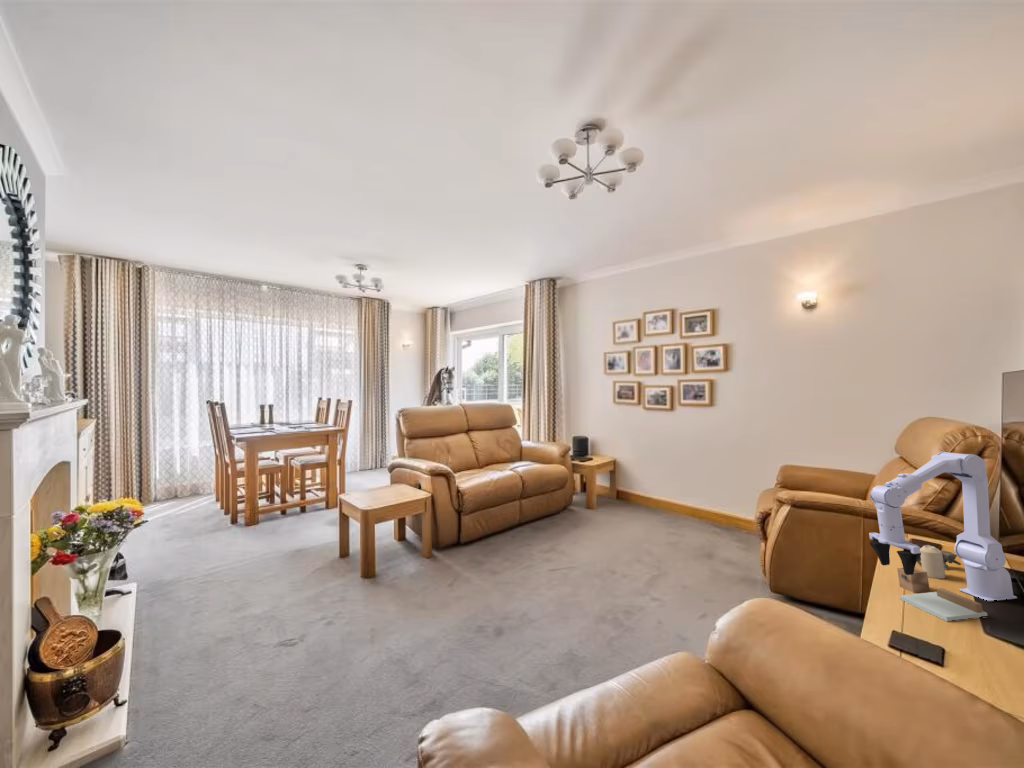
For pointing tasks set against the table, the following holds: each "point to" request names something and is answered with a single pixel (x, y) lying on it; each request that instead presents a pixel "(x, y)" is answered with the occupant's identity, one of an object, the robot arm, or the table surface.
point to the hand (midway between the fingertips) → (897, 569)
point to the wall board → (945, 605)
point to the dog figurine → (946, 557)
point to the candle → (932, 562)
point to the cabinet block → (914, 580)
